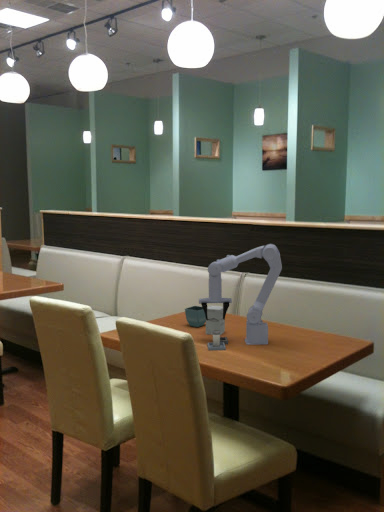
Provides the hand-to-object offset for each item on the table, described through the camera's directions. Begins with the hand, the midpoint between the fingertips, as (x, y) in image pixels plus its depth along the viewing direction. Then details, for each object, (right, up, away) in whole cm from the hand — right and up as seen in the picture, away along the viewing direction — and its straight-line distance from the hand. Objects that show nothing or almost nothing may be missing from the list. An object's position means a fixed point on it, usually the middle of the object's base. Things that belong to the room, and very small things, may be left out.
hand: (215, 319), depth 237 cm
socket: (+2, -10, -3) cm, 11 cm away
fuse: (0, -11, -10) cm, 15 cm away
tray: (0, -11, -10) cm, 15 cm away
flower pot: (-8, -7, +28) cm, 30 cm away
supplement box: (+1, -9, +13) cm, 16 cm away
